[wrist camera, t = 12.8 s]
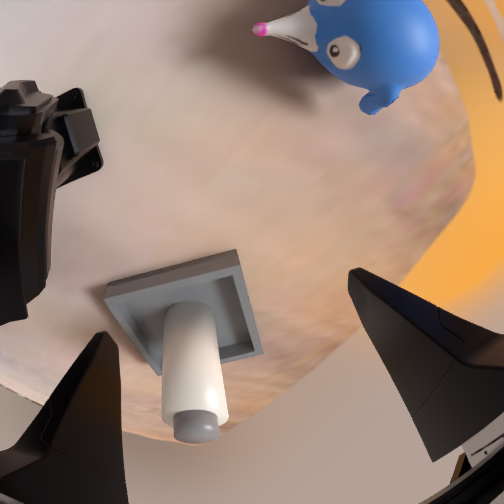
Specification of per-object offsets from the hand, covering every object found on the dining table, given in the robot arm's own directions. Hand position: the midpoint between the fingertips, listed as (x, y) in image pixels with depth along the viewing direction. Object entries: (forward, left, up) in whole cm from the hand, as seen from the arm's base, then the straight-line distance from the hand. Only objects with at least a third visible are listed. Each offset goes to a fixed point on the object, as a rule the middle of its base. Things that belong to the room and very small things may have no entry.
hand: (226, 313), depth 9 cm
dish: (-5, -12, -13) cm, 18 cm away
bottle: (-5, -12, -12) cm, 18 cm away
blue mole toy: (+10, +10, -13) cm, 19 cm away
